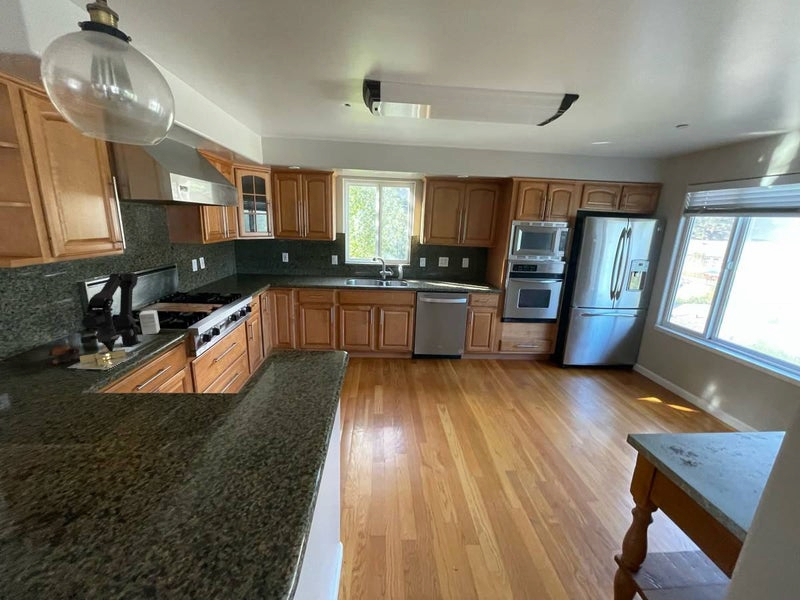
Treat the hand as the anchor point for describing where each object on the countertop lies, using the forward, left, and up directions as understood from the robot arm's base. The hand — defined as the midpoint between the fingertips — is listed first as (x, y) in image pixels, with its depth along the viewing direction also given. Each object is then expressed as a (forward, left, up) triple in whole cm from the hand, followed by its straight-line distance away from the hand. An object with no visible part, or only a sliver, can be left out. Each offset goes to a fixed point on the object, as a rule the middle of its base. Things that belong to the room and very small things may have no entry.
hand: (111, 352), depth 161 cm
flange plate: (+6, +1, -3) cm, 6 cm away
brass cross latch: (+6, +1, -1) cm, 6 cm away
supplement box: (-35, -7, -3) cm, 36 cm away
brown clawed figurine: (+4, -19, -3) cm, 20 cm away
